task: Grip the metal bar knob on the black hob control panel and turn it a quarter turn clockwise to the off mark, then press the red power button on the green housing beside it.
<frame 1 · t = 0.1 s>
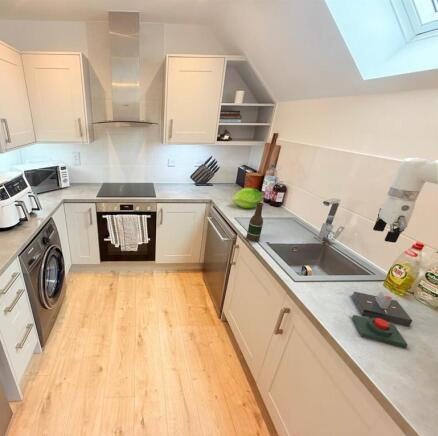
hand: (383, 235, 91), 28 cm above the worktop, tool pointing down, fingers open, 9 cm apart
power block: (376, 332, 84), on the worktop
beer bottle: (252, 239, 148), on the worktop
power button: (381, 323, 82), point 4 cm above the worktop, slide at 0.1 cm
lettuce: (244, 207, 199), on the worktop
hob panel: (377, 310, 93), on the worktop
hob knob: (383, 299, 91), point 6 cm above the worktop, hinge at 90.0°
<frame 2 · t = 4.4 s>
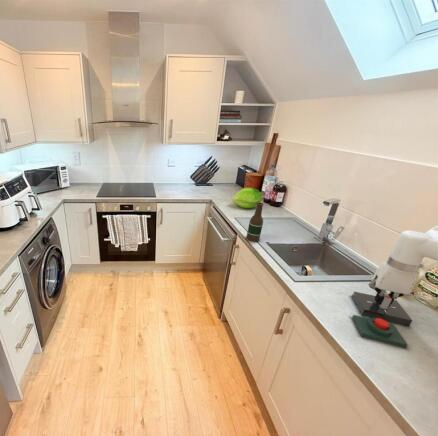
hand: (381, 303, 92), 4 cm above the worktop, tool pointing down, fingers closed on hob knob, 2 cm apart
hob knob: (383, 299, 91), point 6 cm above the worktop, hinge at 88.9°, touching gripper
everything else where it was.
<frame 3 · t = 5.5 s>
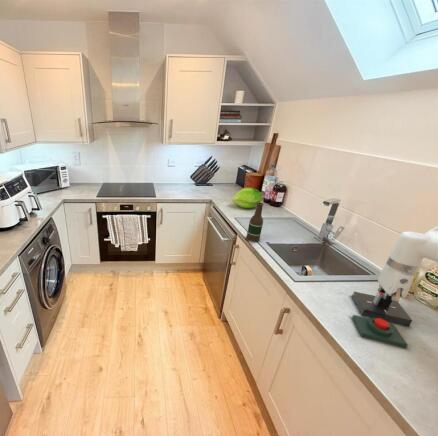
hand: (381, 303, 92), 4 cm above the worktop, tool pointing down, fingers closed
hob knob: (383, 299, 91), point 6 cm above the worktop, hinge at 0.0°
everything else where it was.
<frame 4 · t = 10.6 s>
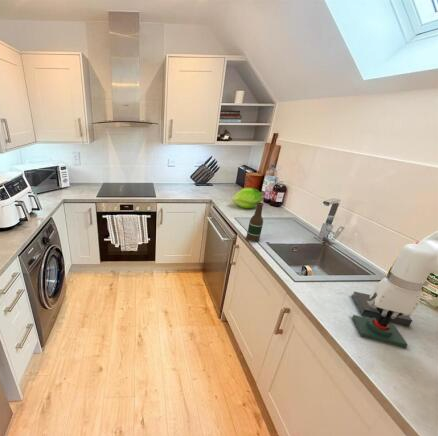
hand: (381, 323, 82), 4 cm above the worktop, tool pointing down, fingers closed
power button: (380, 325, 83), point 3 cm above the worktop, slide at -0.5 cm, touching gripper
everything else where it was.
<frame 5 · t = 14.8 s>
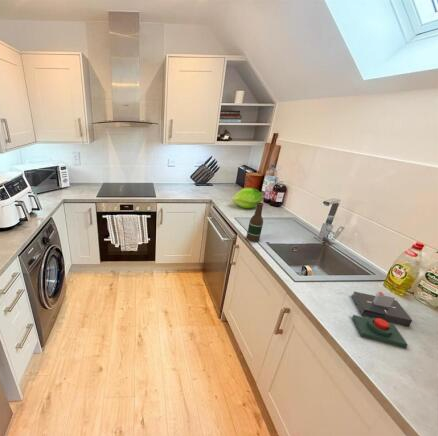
power button: (381, 323, 82), point 4 cm above the worktop, slide at 0.1 cm
everything else where it was.
at the end: hob knob at +0° (first picture: +90°); power button pushed in 1.1 cm at the most during the clip, back to where it started at the end; power button slide at 0.1 cm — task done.
